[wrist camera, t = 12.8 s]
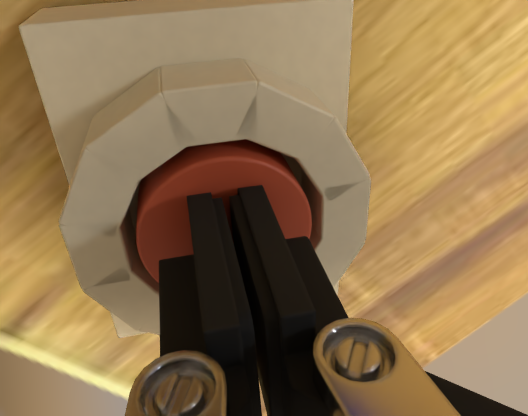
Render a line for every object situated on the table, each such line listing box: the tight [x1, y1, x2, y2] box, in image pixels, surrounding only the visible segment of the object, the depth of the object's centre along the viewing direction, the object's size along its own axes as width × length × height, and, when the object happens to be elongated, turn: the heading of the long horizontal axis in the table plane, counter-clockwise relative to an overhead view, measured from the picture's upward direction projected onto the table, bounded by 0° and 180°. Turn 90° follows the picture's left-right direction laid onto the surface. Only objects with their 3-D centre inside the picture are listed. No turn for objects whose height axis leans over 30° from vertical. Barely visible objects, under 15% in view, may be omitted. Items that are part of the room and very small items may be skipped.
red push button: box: [136, 139, 312, 283], centre depth 11 cm, size 4×4×2 cm
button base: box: [19, 0, 371, 338], centre depth 12 cm, size 9×7×4 cm
